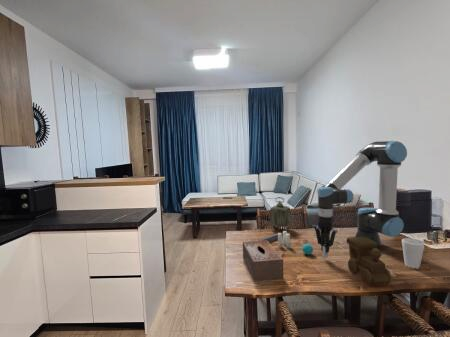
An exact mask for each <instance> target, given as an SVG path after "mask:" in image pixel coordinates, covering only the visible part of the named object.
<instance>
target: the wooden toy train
mask: <svg viewBox="0 0 450 337" xmlns="http://www.w3.org/2000/svg"><path fill="white" fill-rule="evenodd" d="M346 243H347V244H348V250H349V251H348V254H349V259H348V261H347V267H348V270H349V272H350V273H352V274H353V275H357V273H359V274H360V277H361V281H363V283H364V284H365V285H367V286H370V285H372V284H374V285H381V284H387V285H388V284H391V281H392V274H391V272H390V270H388V268H386V264H385V262H383V261H382V260H380V259H381V256H382V251H380V249H379V248H377V243H376V242H375V241H373V240H371V239H369V238H367V237H362V236H357V237H355V236H349V237H348V236H347V237H346Z"/></svg>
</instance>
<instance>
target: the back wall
mask: <svg viewBox="0 0 450 337" xmlns="http://www.w3.org/2000/svg"><path fill="white" fill-rule="evenodd" d="M278 233H279V232H277V233H274V234H272V235H268V236H266V237H263V238H261V239H258V240H257V241H264V240H267V241H268V242H269V243H270V242H274V241H277V240H278Z"/></svg>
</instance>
